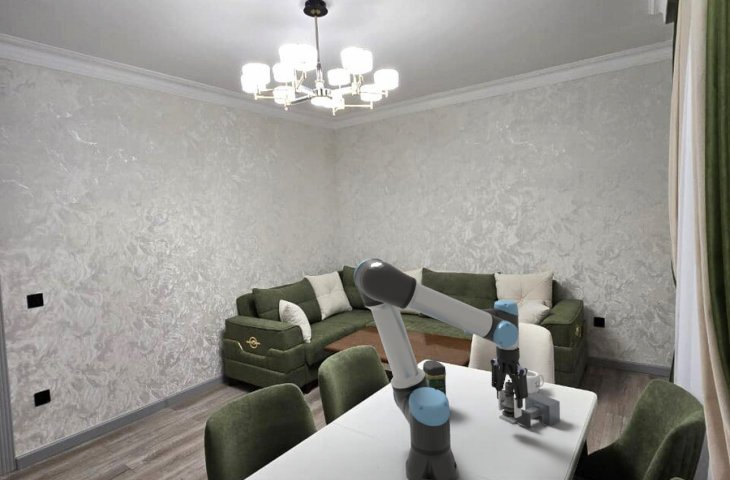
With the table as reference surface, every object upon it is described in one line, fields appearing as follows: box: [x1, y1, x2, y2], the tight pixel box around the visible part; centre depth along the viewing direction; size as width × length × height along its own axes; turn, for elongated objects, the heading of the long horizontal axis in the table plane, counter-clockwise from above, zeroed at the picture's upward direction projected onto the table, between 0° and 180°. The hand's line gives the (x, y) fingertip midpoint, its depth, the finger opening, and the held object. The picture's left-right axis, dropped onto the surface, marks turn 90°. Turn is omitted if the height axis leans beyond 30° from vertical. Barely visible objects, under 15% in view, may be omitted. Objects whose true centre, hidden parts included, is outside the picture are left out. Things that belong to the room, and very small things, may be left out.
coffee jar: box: [422, 359, 447, 396], centre depth 159 cm, size 10×8×19 cm
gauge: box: [499, 392, 561, 428], centre depth 148 cm, size 15×14×8 cm
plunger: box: [511, 406, 542, 429], centre depth 147 cm, size 9×10×5 cm
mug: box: [526, 369, 545, 395], centre depth 172 cm, size 12×8×8 cm
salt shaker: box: [501, 379, 515, 417], centre depth 139 cm, size 6×6×12 cm
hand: (510, 412), depth 139 cm, fingers closed on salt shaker, 6 cm apart
